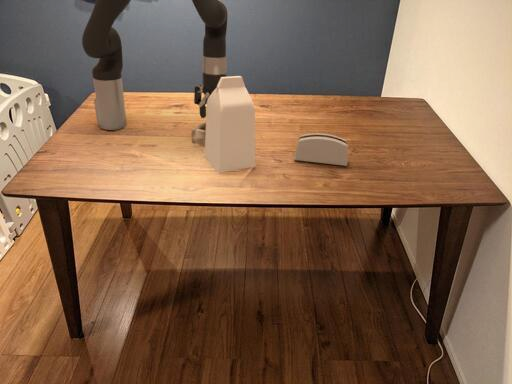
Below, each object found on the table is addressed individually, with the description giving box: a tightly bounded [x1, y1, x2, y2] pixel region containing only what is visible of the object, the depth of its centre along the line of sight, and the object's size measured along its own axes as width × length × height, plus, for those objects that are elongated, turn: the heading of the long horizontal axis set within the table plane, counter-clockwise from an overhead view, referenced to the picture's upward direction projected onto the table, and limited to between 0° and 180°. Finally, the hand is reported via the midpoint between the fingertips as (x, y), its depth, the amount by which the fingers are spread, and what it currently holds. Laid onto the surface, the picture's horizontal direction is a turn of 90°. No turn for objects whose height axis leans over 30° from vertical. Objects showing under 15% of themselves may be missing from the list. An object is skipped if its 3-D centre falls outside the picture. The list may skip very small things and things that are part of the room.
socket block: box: [191, 121, 206, 147], centre depth 137 cm, size 10×12×5 cm
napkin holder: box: [293, 132, 349, 167], centre depth 125 cm, size 17×5×10 cm, turn 81°
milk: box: [204, 75, 256, 174], centre depth 118 cm, size 12×12×26 cm
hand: (214, 119), depth 135 cm, fingers open, 8 cm apart
